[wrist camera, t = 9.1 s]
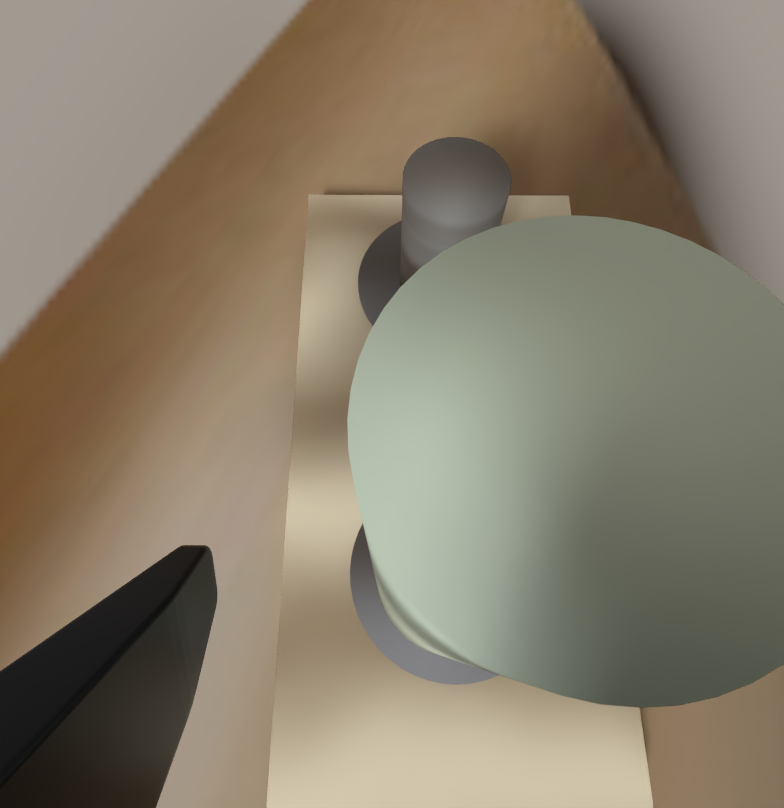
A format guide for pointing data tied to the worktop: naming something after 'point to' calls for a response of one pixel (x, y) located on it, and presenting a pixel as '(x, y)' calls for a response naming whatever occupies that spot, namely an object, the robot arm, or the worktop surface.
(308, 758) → the board
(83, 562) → the worktop surface
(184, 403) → the worktop surface
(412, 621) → the sage pin
